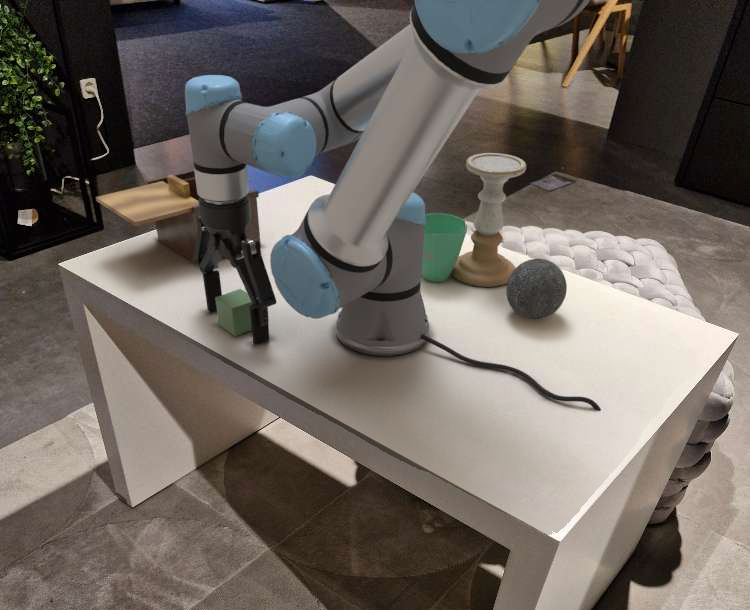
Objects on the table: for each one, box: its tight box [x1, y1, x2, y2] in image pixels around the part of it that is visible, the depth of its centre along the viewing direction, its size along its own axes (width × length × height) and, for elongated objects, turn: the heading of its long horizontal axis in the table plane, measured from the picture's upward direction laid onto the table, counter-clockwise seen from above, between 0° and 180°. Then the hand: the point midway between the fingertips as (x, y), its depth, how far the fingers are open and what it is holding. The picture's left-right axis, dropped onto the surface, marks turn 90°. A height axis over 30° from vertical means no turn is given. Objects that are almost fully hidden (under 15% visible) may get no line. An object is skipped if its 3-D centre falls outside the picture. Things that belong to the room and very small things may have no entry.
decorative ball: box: [505, 258, 568, 321], centre depth 125 cm, size 10×10×10 cm
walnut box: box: [145, 169, 262, 262], centre depth 144 cm, size 18×14×11 cm
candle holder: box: [451, 152, 527, 288], centre depth 134 cm, size 12×12×20 cm
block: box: [215, 288, 252, 337], centre depth 122 cm, size 5×5×5 cm
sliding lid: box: [95, 174, 199, 227], centre depth 135 cm, size 15×14×3 cm
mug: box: [421, 212, 468, 283], centre depth 137 cm, size 15×10×10 cm
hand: (237, 324), depth 124 cm, fingers open, 13 cm apart
